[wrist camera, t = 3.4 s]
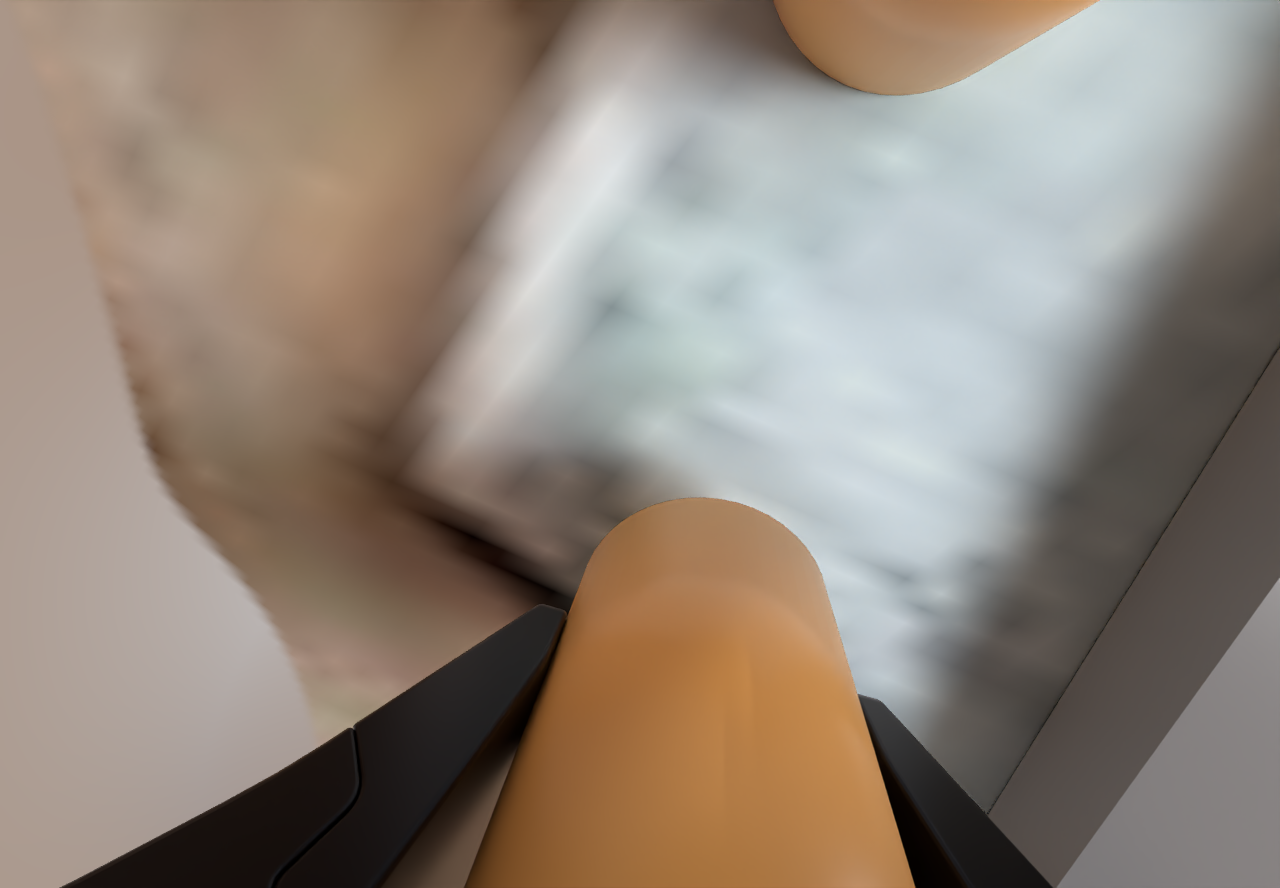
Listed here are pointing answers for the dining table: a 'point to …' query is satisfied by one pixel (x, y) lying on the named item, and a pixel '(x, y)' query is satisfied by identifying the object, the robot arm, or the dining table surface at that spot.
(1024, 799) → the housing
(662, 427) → the dining table surface
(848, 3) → the orange rounded plug
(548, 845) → the orange tapered peg
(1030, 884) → the robot arm
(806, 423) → the dining table surface
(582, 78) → the dining table surface
